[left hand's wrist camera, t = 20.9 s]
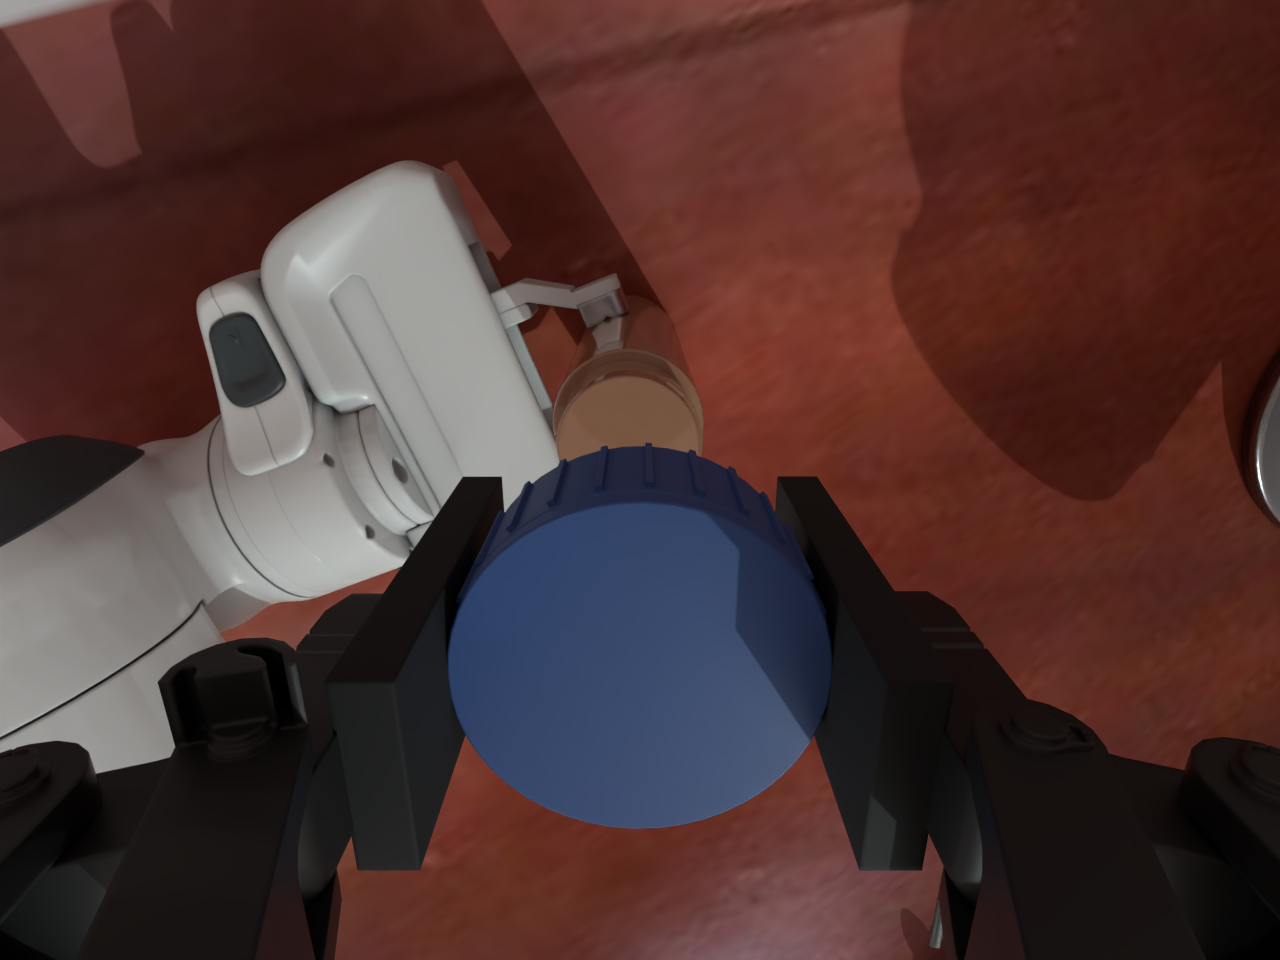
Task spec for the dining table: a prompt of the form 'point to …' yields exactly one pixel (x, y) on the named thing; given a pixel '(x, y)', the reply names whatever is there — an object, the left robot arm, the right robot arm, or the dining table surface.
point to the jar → (628, 387)
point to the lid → (639, 641)
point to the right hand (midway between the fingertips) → (649, 360)
